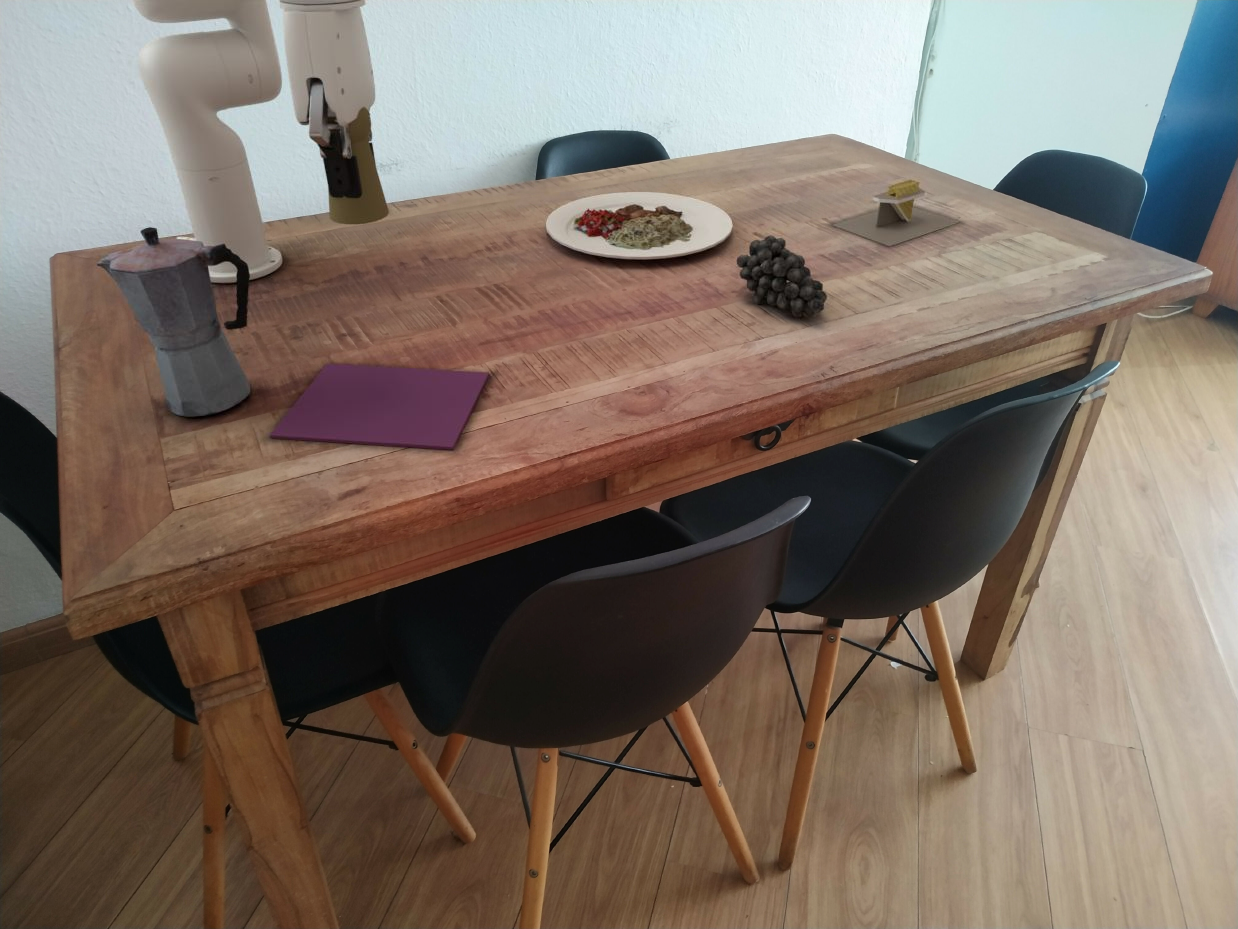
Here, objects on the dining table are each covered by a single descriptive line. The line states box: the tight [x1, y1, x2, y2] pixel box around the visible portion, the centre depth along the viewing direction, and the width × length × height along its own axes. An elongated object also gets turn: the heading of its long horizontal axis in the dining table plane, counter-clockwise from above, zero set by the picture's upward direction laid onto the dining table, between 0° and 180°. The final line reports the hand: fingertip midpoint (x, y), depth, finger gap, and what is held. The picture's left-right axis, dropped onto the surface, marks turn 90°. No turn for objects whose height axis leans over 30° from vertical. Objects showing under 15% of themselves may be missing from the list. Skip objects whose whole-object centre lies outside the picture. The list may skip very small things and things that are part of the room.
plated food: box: [545, 191, 733, 261], centre depth 143 cm, size 30×30×3 cm
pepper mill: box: [327, 107, 390, 225], centre depth 89 cm, size 6×6×11 cm
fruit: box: [736, 235, 828, 319], centre depth 119 cm, size 9×8×15 cm
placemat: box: [269, 363, 490, 451], centre depth 100 cm, size 20×16×1 cm
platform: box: [832, 178, 960, 247], centre depth 146 cm, size 12×18×7 cm, turn 127°
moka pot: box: [96, 226, 251, 418], centre depth 96 cm, size 10×15×20 cm, turn 95°
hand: (354, 187), depth 91 cm, fingers closed on pepper mill, 4 cm apart
